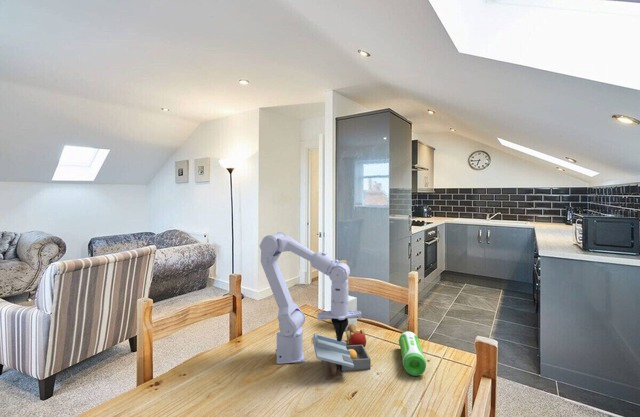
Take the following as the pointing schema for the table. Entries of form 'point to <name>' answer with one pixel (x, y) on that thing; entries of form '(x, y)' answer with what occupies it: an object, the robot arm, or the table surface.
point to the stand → (332, 370)
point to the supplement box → (352, 307)
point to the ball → (353, 354)
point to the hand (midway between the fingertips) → (339, 339)
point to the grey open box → (358, 359)
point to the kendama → (355, 336)
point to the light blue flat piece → (332, 350)
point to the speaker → (412, 353)
